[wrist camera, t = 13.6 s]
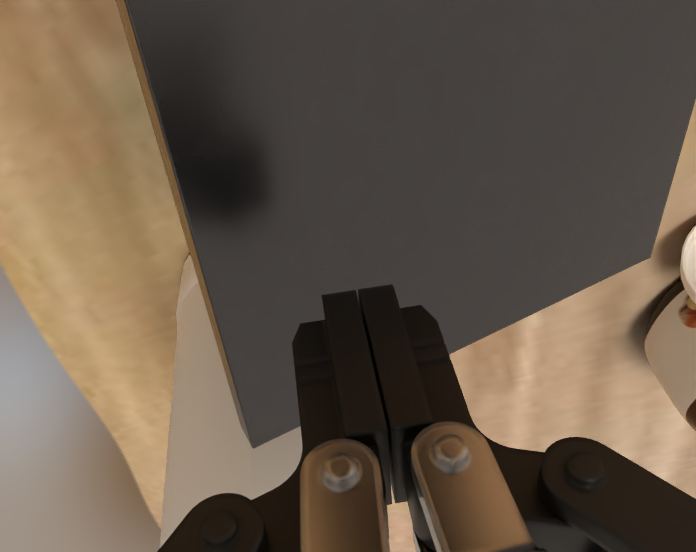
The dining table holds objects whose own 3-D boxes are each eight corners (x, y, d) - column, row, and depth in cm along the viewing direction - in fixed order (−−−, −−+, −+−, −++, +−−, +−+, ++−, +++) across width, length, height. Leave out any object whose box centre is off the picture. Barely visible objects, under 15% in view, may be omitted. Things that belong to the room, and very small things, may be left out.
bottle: (211, 345, 39) (190, 1221, 16) (154, 244, 34) (9, 1316, 11) (342, 309, 39) (507, 1156, 16) (304, 201, 34) (468, 1224, 11)
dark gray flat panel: (240, 426, 20) (252, 450, 20) (105, -34, 12) (119, -21, 11) (630, 243, 26) (650, 257, 25) (735, -170, 17) (772, -166, 16)
